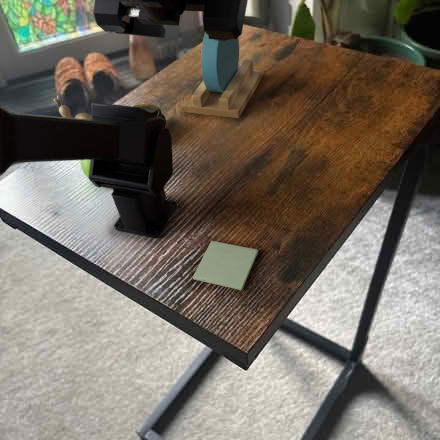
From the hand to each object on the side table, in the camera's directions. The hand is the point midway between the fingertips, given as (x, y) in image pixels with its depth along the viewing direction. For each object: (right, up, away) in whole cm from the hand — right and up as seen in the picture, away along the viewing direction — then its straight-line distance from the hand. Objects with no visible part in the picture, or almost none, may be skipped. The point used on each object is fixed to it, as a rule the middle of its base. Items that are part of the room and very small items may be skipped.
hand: (194, 35), depth 62 cm
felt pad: (+4, -31, -8) cm, 33 cm away
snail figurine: (-13, -18, +5) cm, 23 cm away
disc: (+4, +2, +10) cm, 11 cm away
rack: (+4, -2, +15) cm, 15 cm away
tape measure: (-8, -11, +10) cm, 17 cm away
